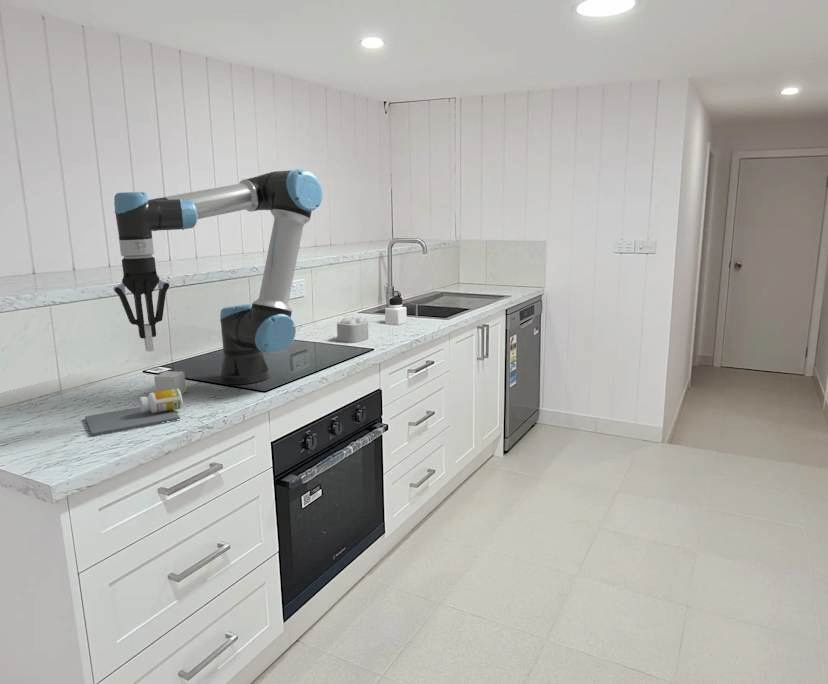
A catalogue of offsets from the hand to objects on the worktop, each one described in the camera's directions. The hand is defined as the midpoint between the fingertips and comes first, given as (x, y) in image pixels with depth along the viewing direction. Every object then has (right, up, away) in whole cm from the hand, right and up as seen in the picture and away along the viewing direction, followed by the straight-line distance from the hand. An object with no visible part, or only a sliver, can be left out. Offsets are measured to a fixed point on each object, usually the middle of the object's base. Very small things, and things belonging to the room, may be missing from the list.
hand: (149, 350), depth 161 cm
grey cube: (-3, -13, +23) cm, 26 cm away
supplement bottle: (+6, -13, +6) cm, 15 cm away
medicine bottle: (+59, +10, +125) cm, 138 cm away
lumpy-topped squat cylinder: (+43, +3, +93) cm, 102 cm away
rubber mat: (-5, -18, +1) cm, 18 cm away
